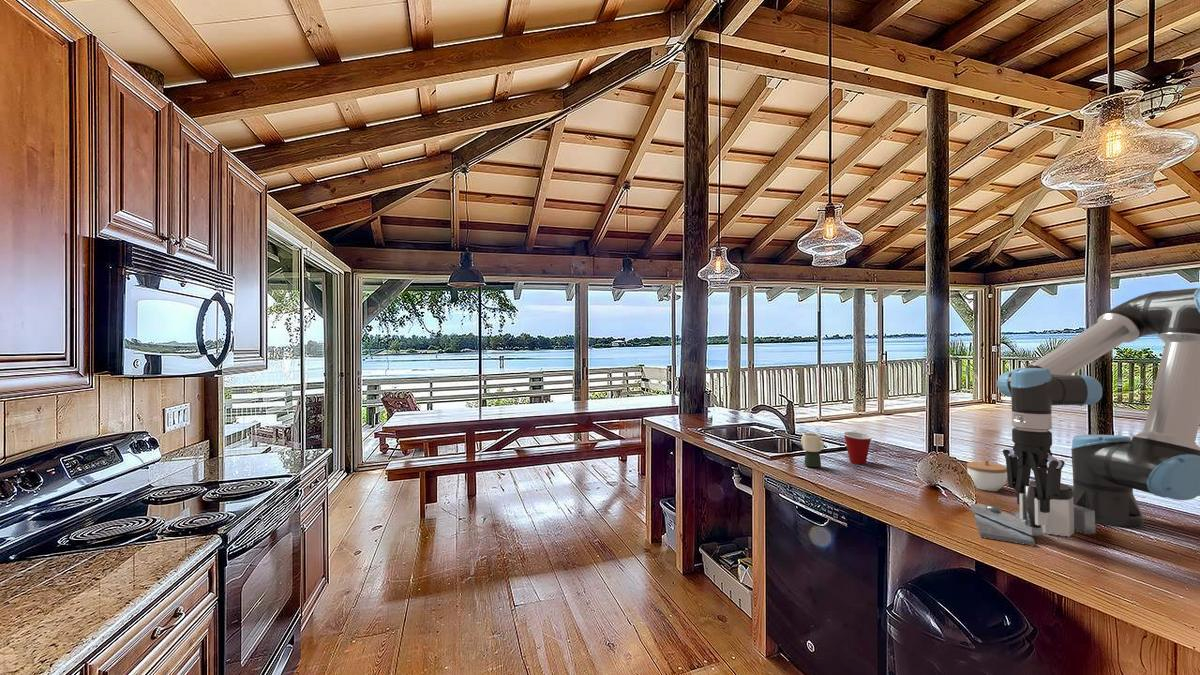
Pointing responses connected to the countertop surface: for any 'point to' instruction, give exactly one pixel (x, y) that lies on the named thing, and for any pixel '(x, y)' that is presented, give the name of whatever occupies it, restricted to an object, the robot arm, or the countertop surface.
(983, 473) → the lidded jar
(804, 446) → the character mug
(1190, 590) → the countertop surface
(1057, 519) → the jar
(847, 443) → the plastic cup
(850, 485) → the countertop surface
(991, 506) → the lever
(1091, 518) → the backstop
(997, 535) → the press base
